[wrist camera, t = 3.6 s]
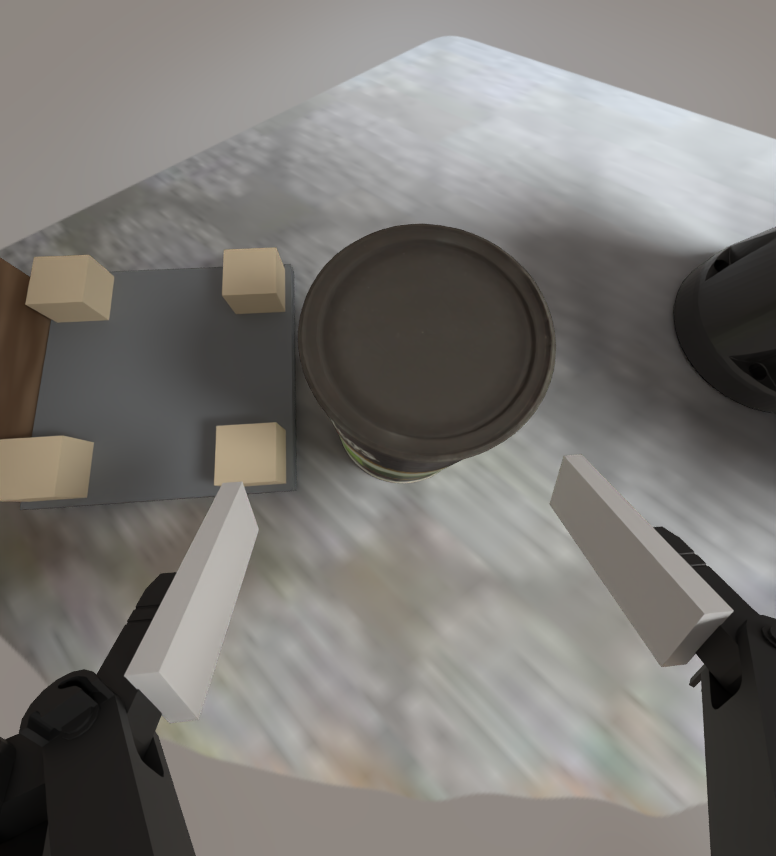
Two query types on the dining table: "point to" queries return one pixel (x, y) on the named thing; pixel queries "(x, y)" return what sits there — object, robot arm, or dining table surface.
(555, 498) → the robot arm
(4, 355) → the walnut shelf
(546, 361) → the coffee can
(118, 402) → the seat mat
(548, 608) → the dining table surface
